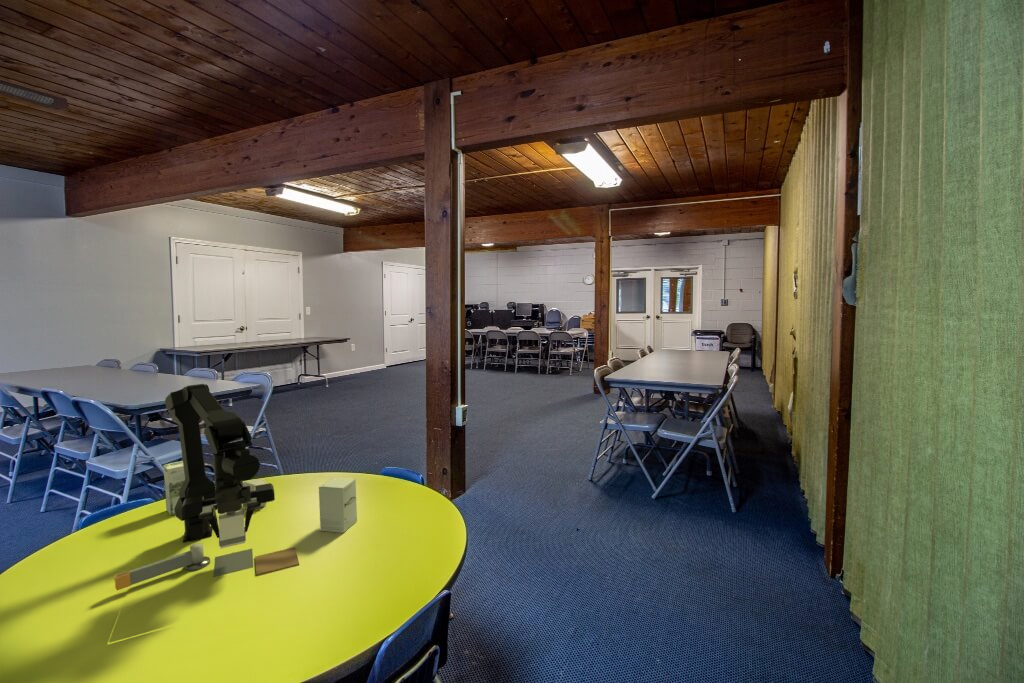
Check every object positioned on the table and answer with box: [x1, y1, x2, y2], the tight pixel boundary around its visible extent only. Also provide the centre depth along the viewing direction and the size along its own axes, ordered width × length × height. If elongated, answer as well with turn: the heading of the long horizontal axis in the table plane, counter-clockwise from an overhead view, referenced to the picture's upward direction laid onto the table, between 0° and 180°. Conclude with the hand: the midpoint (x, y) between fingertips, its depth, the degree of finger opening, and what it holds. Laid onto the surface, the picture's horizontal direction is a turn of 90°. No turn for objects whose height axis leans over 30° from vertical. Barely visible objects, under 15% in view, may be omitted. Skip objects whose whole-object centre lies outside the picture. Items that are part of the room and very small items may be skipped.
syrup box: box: [162, 460, 185, 516], centre depth 146 cm, size 6×6×14 cm
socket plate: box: [213, 548, 254, 578], centre depth 116 cm, size 10×8×1 cm
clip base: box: [184, 555, 211, 572], centre depth 115 cm, size 5×5×1 cm
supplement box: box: [318, 477, 358, 534], centre depth 135 cm, size 7×7×13 cm
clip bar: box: [114, 542, 205, 591], centre depth 110 cm, size 16×3×4 cm, turn 137°
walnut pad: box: [254, 546, 300, 577], centre depth 117 cm, size 9×9×1 cm
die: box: [242, 478, 268, 511], centre depth 148 cm, size 8×9×10 cm
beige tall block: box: [218, 506, 247, 549], centre depth 116 cm, size 5×5×8 cm
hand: (232, 534), depth 116 cm, fingers closed on beige tall block, 5 cm apart
